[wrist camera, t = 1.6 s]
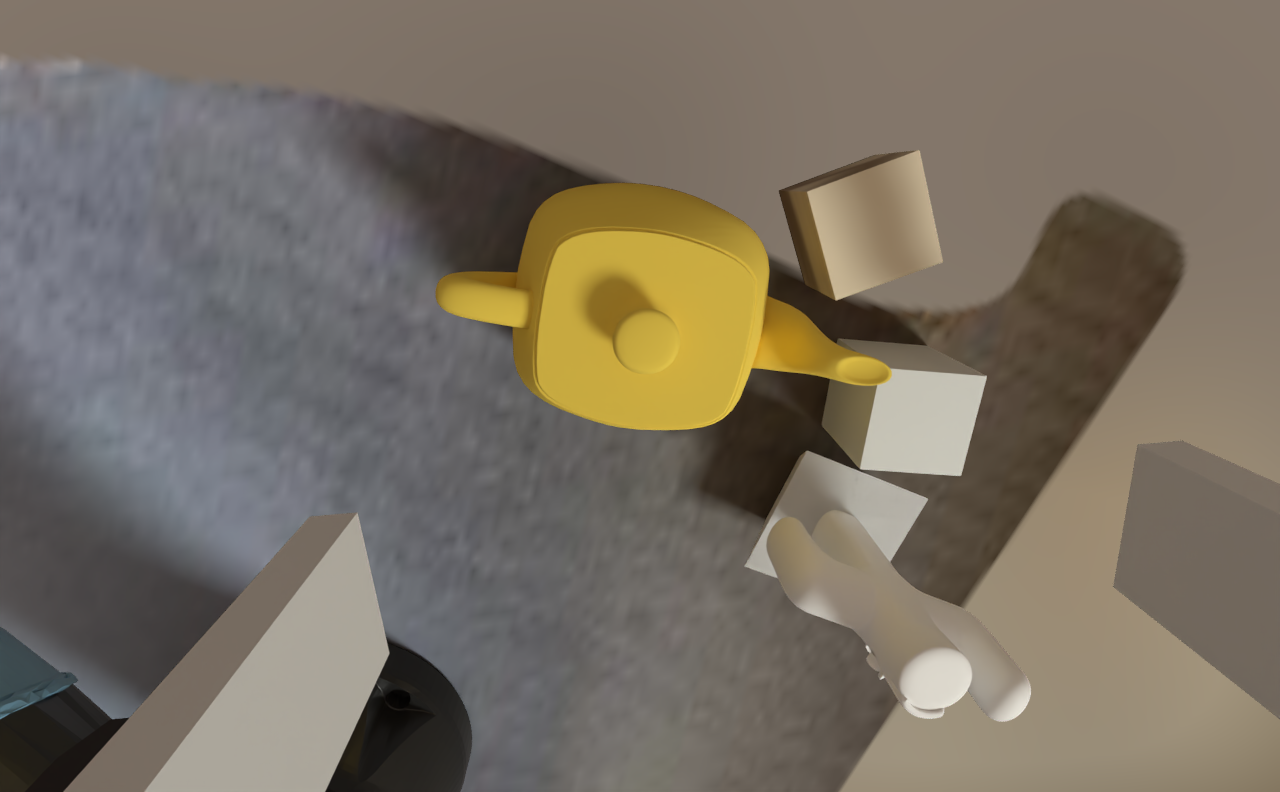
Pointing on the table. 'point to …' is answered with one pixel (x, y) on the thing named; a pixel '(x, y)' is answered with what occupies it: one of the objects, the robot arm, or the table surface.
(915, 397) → the white block
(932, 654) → the figurine
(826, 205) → the beech block
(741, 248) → the teapot
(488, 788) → the table surface
